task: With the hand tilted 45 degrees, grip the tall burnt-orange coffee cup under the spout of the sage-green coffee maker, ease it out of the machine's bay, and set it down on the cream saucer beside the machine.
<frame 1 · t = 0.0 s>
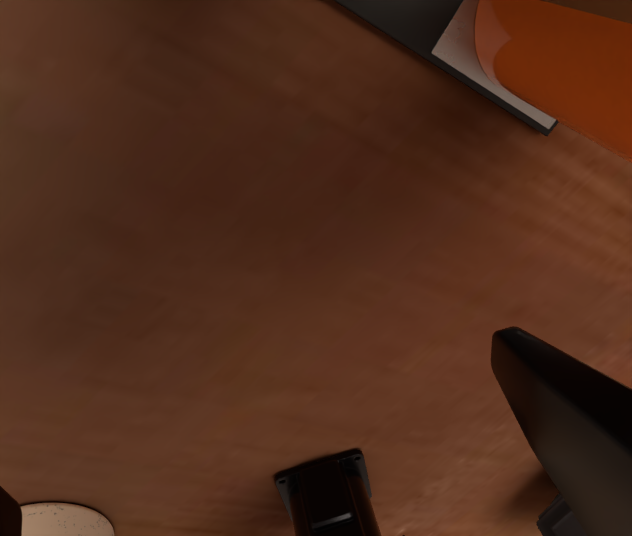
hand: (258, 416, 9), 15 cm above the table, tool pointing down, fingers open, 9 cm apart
camera: (590, 469, 47), on the table
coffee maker: (544, 7, 21), on the table
cup: (552, 10, 20), point 1 cm above the table, touching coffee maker
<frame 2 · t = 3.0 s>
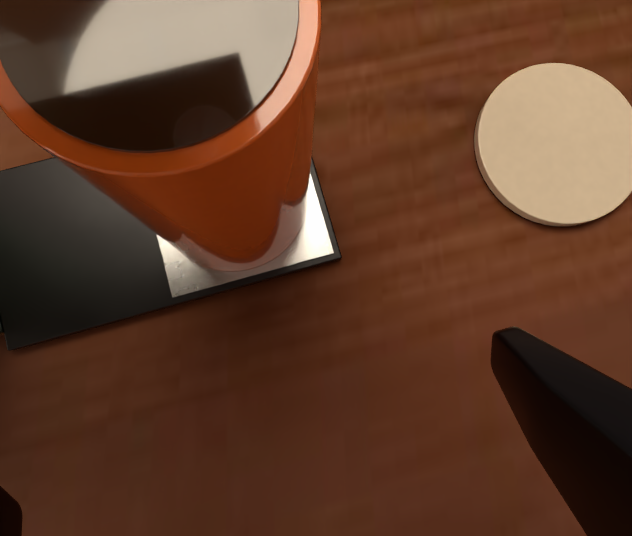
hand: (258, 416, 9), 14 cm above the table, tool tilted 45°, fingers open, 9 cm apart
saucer: (555, 146, 24), on the table
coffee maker: (234, 200, 23), on the table
cup: (232, 197, 23), point 1 cm above the table, touching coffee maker
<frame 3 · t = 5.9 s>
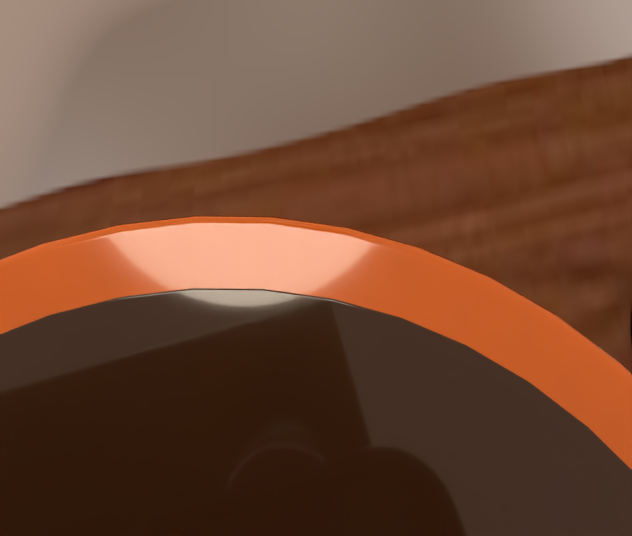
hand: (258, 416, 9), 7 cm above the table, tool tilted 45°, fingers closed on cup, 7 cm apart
cup: (288, 431, 15), point 1 cm above the table, touching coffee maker, gripper
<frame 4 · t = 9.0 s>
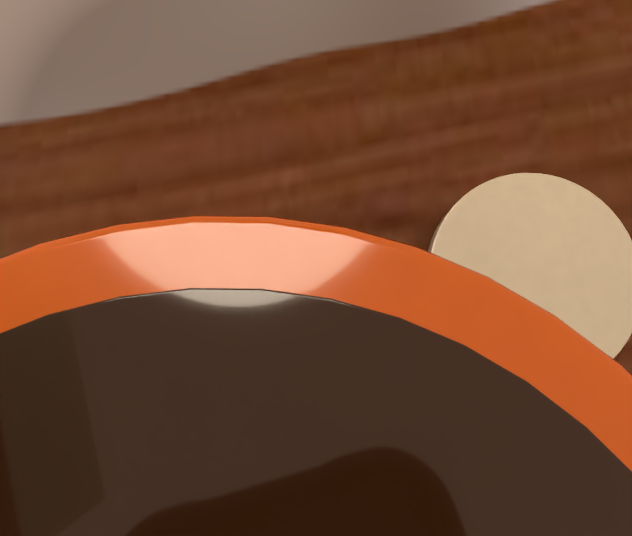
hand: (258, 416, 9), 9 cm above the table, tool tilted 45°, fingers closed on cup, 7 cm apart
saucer: (529, 278, 19), on the table
cup: (288, 431, 15), point 3 cm above the table, touching gripper
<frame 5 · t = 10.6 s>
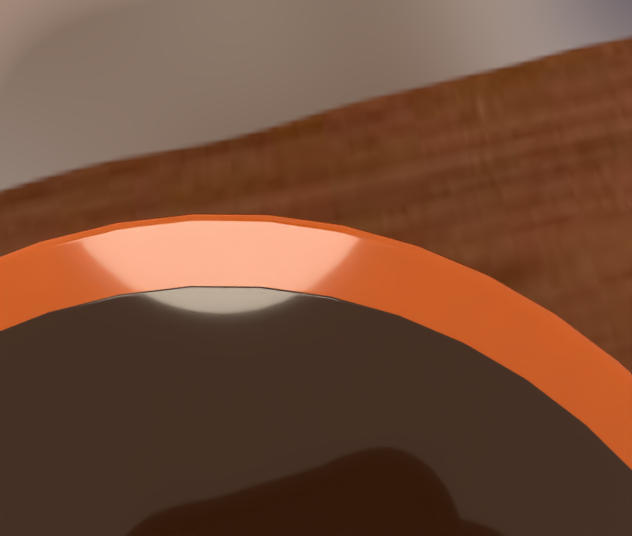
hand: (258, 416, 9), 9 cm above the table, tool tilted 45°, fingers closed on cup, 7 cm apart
cup: (288, 430, 15), point 3 cm above the table, touching gripper
when the fingers open (7 cm above the table, at t = 11.9 s): cup stays where it is, resting on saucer.
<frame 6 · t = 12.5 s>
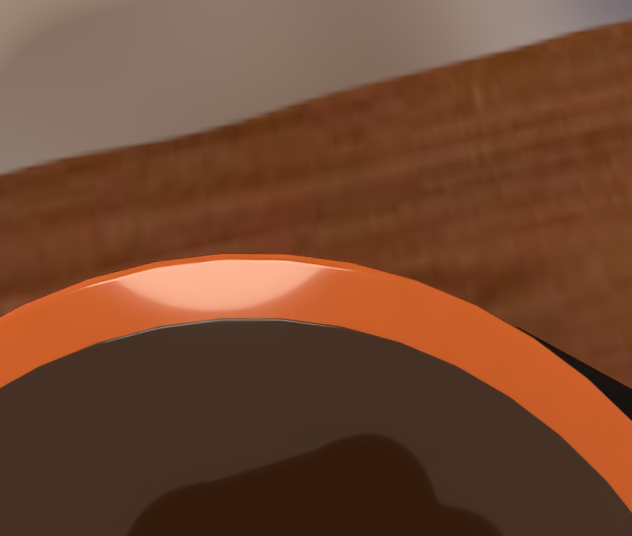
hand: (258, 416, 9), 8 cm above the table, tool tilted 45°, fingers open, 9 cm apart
cup: (289, 432, 16), point 1 cm above the table, touching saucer
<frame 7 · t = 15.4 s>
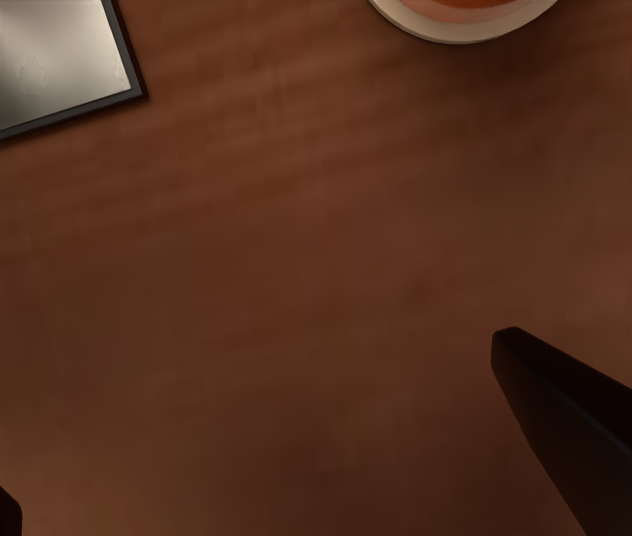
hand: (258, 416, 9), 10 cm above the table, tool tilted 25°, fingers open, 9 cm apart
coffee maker: (0, 10, 17), on the table
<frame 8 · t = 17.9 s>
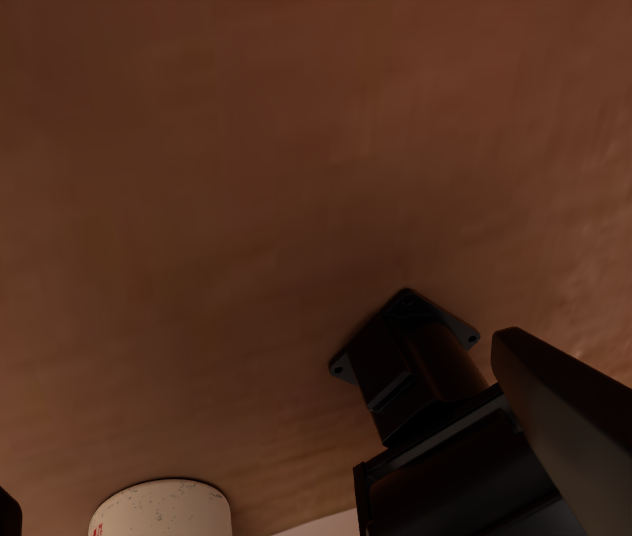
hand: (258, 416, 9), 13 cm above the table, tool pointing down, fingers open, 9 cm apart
teacup with lid: (167, 523, 33), on the table
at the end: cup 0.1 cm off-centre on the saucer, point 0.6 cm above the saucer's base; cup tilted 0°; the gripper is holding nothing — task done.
